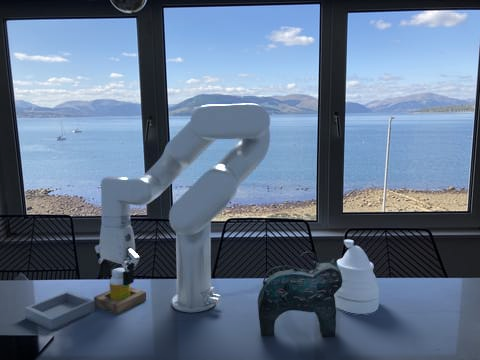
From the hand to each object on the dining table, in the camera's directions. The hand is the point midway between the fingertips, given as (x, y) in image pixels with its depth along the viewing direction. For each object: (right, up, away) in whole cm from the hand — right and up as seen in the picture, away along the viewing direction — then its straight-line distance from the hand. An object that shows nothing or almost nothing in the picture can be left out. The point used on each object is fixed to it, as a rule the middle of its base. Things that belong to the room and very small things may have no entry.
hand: (116, 280), depth 101 cm
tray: (-13, -8, -6) cm, 16 cm away
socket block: (+1, -7, +1) cm, 7 cm away
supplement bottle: (+1, -7, +1) cm, 7 cm away
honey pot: (+67, -7, 0) cm, 68 cm away
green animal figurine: (+49, -9, -16) cm, 52 cm away
